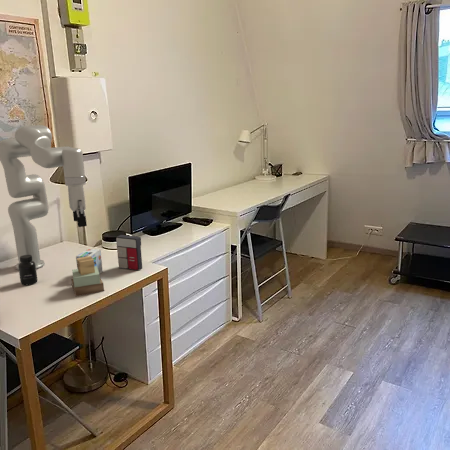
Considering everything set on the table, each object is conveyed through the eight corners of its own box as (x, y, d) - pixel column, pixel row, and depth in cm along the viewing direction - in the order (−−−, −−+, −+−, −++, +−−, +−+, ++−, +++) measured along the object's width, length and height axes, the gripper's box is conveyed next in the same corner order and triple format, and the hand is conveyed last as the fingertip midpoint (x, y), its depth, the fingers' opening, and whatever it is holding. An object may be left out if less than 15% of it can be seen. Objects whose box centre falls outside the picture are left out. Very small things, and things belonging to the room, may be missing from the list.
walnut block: (72, 287, 192) (71, 278, 191) (99, 282, 196) (98, 274, 195) (76, 297, 182) (75, 288, 181) (104, 292, 187) (103, 283, 186)
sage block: (73, 278, 191) (72, 269, 190) (97, 275, 194) (96, 266, 193) (74, 287, 182) (73, 278, 181) (100, 283, 185) (99, 274, 184)
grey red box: (117, 268, 211) (114, 237, 207) (123, 265, 215) (120, 234, 211) (138, 271, 207) (135, 239, 203) (143, 267, 211) (140, 236, 207)
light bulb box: (92, 280, 198) (89, 256, 195) (77, 279, 199) (75, 256, 196) (103, 271, 208) (101, 248, 205) (89, 270, 209) (87, 248, 206)
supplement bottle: (27, 287, 193) (23, 260, 189) (17, 284, 196) (13, 257, 193) (41, 281, 198) (37, 255, 195) (31, 278, 202) (27, 252, 199)
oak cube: (78, 271, 188) (76, 258, 187) (91, 268, 191) (90, 255, 189) (81, 275, 184) (79, 262, 182) (95, 272, 186) (93, 259, 185)
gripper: (62, 178, 183) (67, 220, 187) (68, 185, 168) (73, 230, 172) (81, 176, 186) (85, 217, 190) (89, 183, 171) (94, 227, 176)
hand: (80, 223), depth 181 cm, fingers open, 9 cm apart
